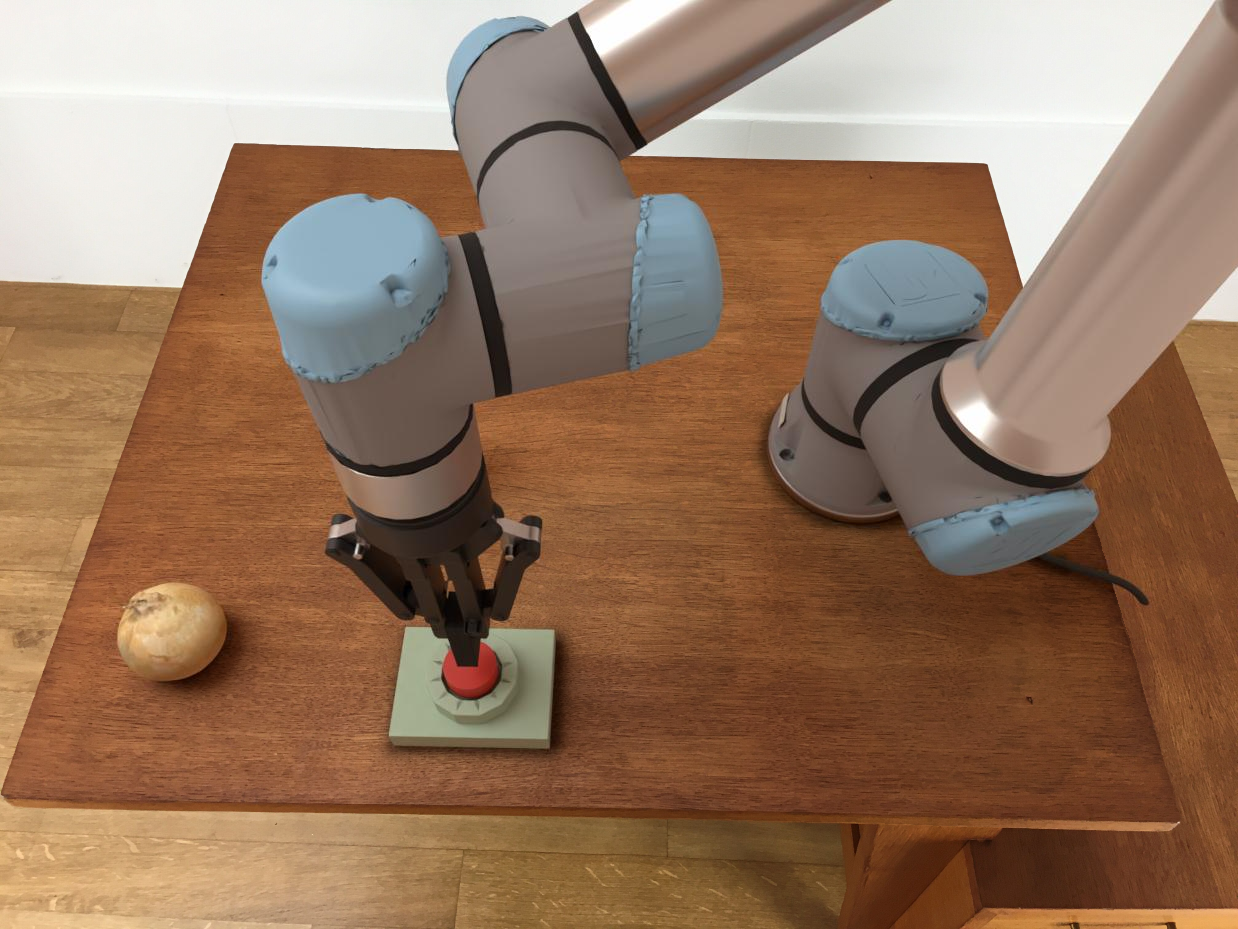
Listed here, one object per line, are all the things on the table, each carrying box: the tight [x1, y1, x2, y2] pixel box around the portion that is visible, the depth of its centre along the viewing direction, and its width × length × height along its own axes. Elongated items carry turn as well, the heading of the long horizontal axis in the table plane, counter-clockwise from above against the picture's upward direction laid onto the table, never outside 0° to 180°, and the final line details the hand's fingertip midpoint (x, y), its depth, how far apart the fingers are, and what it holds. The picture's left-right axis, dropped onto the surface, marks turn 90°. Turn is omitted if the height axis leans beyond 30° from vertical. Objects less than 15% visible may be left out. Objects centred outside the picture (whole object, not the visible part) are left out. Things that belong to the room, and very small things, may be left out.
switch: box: [443, 642, 498, 698], centre depth 73 cm, size 4×4×2 cm
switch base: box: [388, 626, 557, 750], centre depth 75 cm, size 12×9×4 cm
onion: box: [116, 582, 228, 682], centre depth 76 cm, size 8×8×7 cm
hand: (469, 649), depth 70 cm, fingers closed
